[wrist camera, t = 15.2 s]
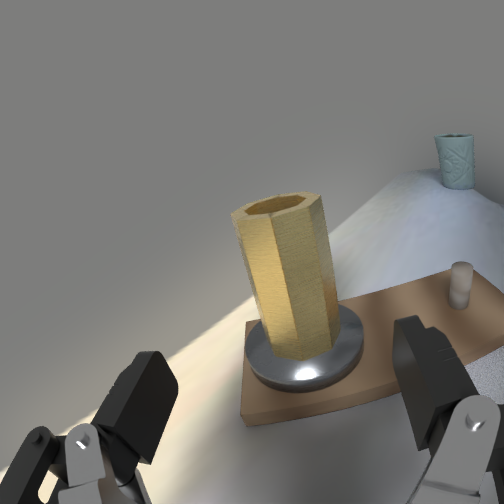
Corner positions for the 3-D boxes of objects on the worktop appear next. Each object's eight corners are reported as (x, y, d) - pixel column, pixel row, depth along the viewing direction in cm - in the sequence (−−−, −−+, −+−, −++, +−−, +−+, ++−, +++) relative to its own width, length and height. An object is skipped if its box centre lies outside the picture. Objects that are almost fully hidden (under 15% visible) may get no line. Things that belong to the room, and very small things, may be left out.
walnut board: (465, 275, 25) (467, 233, 23) (525, 331, 15) (539, 280, 13) (249, 334, 28) (235, 290, 26) (246, 426, 17) (223, 381, 16)
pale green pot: (473, 180, 55) (468, 133, 51) (482, 190, 47) (477, 136, 43) (437, 181, 60) (431, 134, 56) (442, 191, 53) (436, 137, 48)
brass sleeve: (320, 307, 24) (297, 188, 20) (351, 340, 19) (333, 199, 15) (261, 329, 23) (226, 209, 19) (282, 369, 18) (241, 226, 15)
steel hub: (331, 303, 26) (322, 244, 24) (386, 357, 18) (387, 286, 16) (239, 337, 25) (219, 279, 23) (267, 411, 17) (242, 345, 15)
